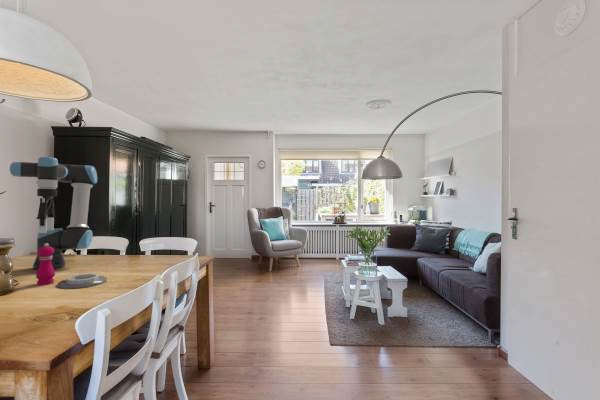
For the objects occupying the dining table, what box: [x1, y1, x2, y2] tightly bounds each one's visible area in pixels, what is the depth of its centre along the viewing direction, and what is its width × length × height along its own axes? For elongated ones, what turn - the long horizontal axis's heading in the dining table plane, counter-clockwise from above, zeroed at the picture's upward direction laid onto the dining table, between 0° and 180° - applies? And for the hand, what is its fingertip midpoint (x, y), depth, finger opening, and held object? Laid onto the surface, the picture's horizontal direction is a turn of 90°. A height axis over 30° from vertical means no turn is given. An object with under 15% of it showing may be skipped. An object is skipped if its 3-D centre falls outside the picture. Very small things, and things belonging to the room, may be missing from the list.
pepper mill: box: [35, 243, 56, 286], centre depth 146 cm, size 7×7×20 cm
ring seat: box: [57, 273, 108, 290], centre depth 149 cm, size 20×20×3 cm
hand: (46, 231), depth 146 cm, fingers open, 13 cm apart
